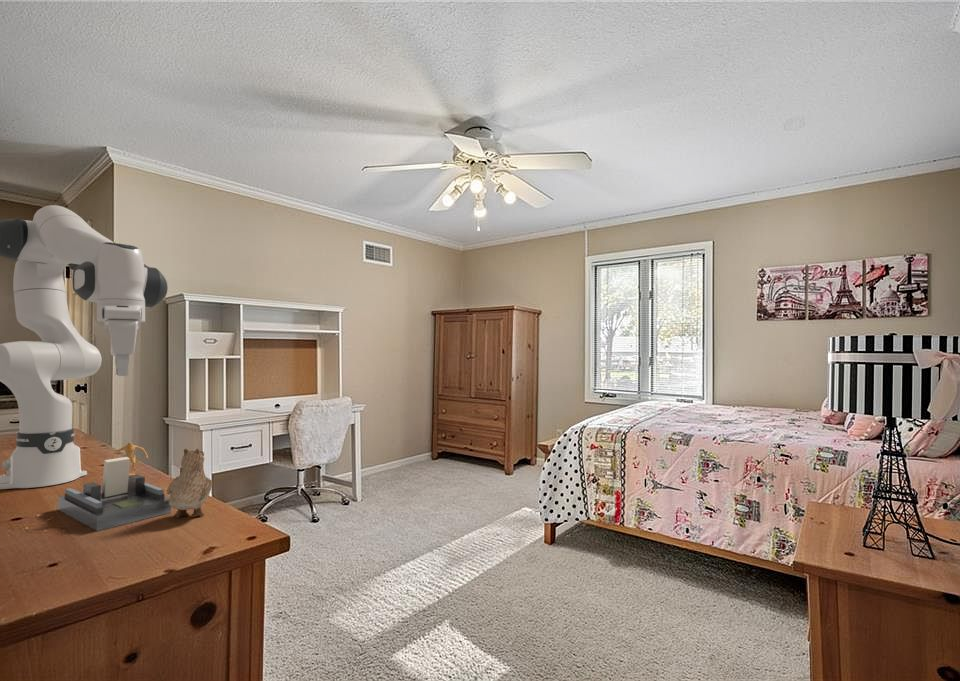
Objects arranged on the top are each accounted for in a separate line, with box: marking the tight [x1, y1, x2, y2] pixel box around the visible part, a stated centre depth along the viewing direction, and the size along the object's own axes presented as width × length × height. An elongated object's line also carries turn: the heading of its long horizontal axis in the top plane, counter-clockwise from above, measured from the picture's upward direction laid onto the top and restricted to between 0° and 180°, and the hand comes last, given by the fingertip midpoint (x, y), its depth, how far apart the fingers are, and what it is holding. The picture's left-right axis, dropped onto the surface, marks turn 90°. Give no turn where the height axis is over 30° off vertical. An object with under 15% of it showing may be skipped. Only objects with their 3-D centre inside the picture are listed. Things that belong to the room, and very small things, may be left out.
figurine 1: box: [111, 441, 149, 476], centre depth 131 cm, size 8×6×12 cm
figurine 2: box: [166, 448, 213, 519], centre depth 109 cm, size 9×10×15 cm
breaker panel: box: [57, 473, 172, 532], centre depth 112 cm, size 23×14×7 cm, turn 56°
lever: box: [101, 456, 131, 499], centre depth 112 cm, size 2×5×9 cm, turn 146°
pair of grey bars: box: [64, 482, 165, 513], centre depth 112 cm, size 19×13×2 cm
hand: (121, 375), depth 110 cm, fingers open, 8 cm apart
